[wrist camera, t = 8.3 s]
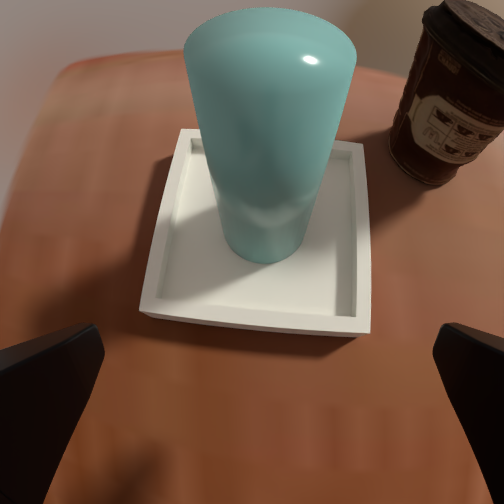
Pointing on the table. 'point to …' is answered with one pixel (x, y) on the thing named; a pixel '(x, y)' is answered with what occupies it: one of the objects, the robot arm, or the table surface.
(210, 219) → the tray
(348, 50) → the teal cylinder
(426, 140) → the coffee cup
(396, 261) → the table surface
